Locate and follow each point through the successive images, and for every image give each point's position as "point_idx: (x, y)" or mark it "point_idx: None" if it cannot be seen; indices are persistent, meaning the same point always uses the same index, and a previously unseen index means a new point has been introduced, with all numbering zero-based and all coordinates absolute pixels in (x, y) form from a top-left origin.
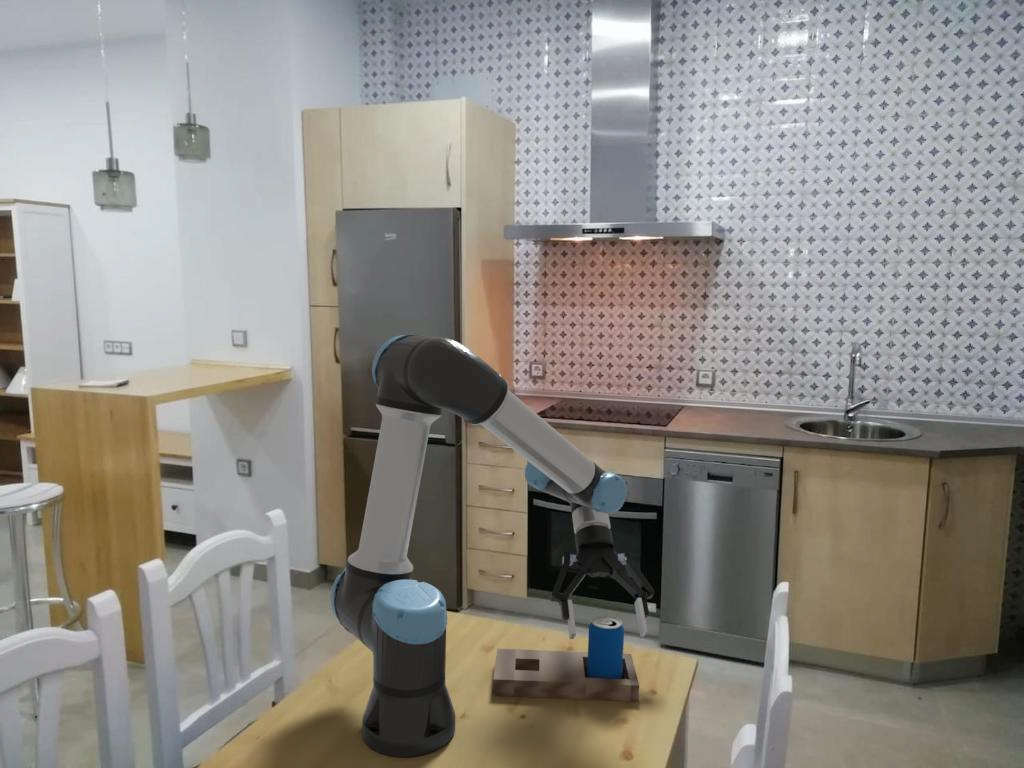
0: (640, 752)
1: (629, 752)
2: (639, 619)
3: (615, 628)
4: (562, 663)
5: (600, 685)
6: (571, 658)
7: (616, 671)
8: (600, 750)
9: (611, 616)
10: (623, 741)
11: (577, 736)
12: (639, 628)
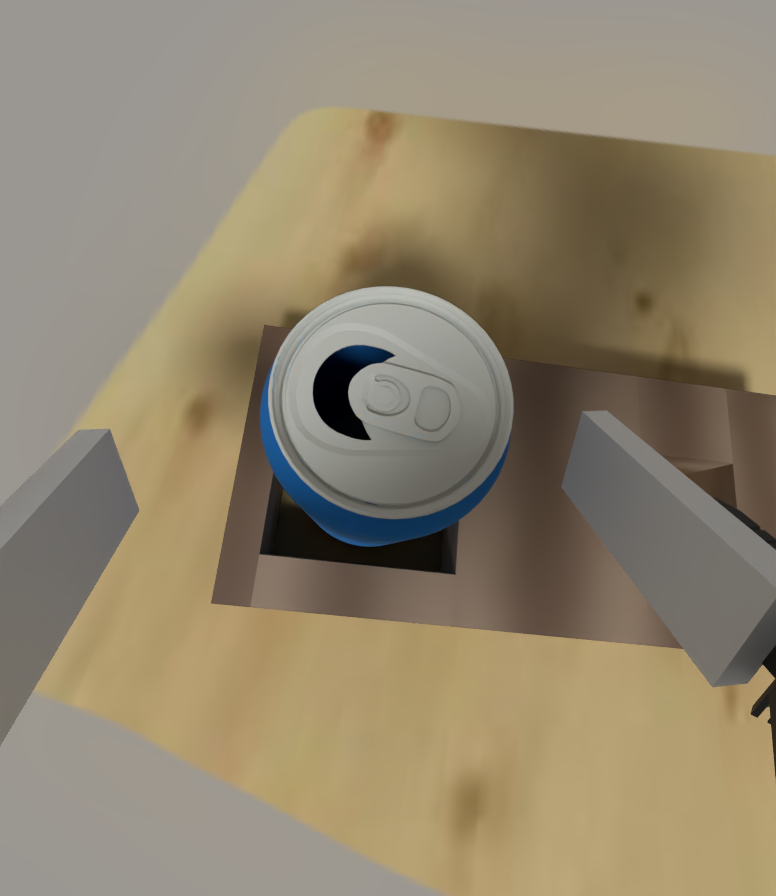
0: (344, 130)
1: (373, 133)
2: (73, 543)
3: (345, 300)
4: (548, 512)
5: None
6: (507, 557)
7: (336, 398)
8: (445, 148)
9: (330, 498)
10: (377, 173)
11: (497, 204)
12: (114, 533)
